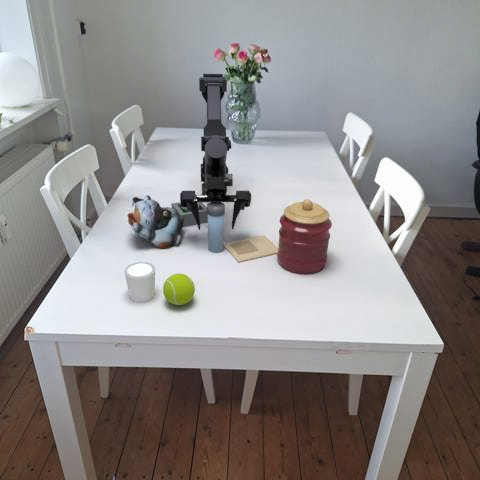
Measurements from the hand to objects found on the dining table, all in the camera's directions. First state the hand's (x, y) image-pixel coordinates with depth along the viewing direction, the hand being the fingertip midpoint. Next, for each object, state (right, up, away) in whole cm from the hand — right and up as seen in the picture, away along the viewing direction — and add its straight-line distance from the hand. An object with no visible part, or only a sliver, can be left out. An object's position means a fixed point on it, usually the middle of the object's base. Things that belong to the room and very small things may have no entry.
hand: (216, 229), depth 122 cm
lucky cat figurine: (-17, -3, +9) cm, 19 cm away
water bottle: (0, -5, +4) cm, 7 cm away
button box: (-9, +4, +20) cm, 22 cm away
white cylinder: (-16, -16, -15) cm, 27 cm away
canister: (+22, -9, 0) cm, 24 cm away
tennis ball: (-7, -17, -17) cm, 25 cm away
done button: (-9, +6, +19) cm, 22 cm away
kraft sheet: (+10, -5, +5) cm, 12 cm away
